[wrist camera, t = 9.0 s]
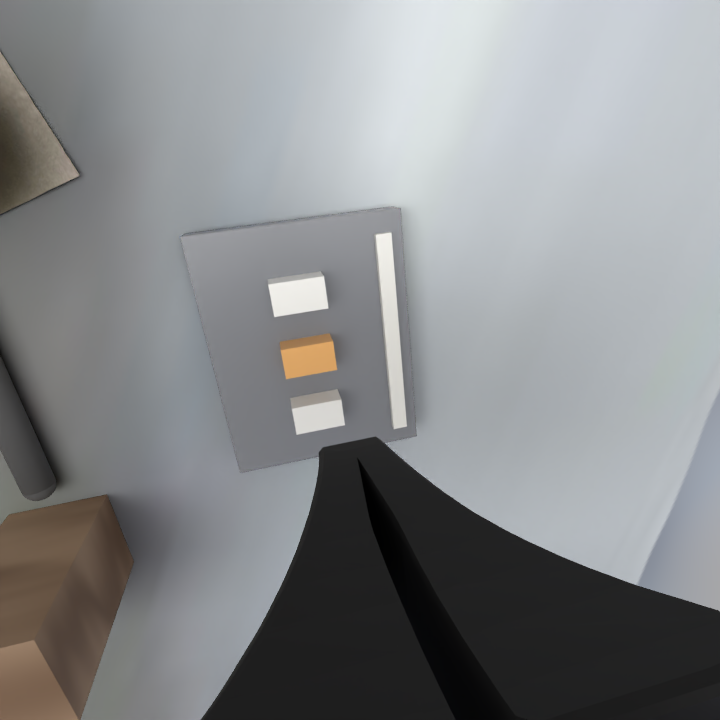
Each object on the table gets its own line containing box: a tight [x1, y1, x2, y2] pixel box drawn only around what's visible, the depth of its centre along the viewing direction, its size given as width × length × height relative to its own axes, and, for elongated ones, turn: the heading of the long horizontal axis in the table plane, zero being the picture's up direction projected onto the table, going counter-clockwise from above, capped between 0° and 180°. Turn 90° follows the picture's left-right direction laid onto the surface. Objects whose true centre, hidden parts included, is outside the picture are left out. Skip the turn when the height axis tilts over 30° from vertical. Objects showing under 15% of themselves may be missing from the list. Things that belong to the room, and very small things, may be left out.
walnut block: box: [0, 495, 134, 720], centre depth 17 cm, size 4×4×7 cm
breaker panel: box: [180, 207, 417, 473], centre depth 18 cm, size 10×8×2 cm
